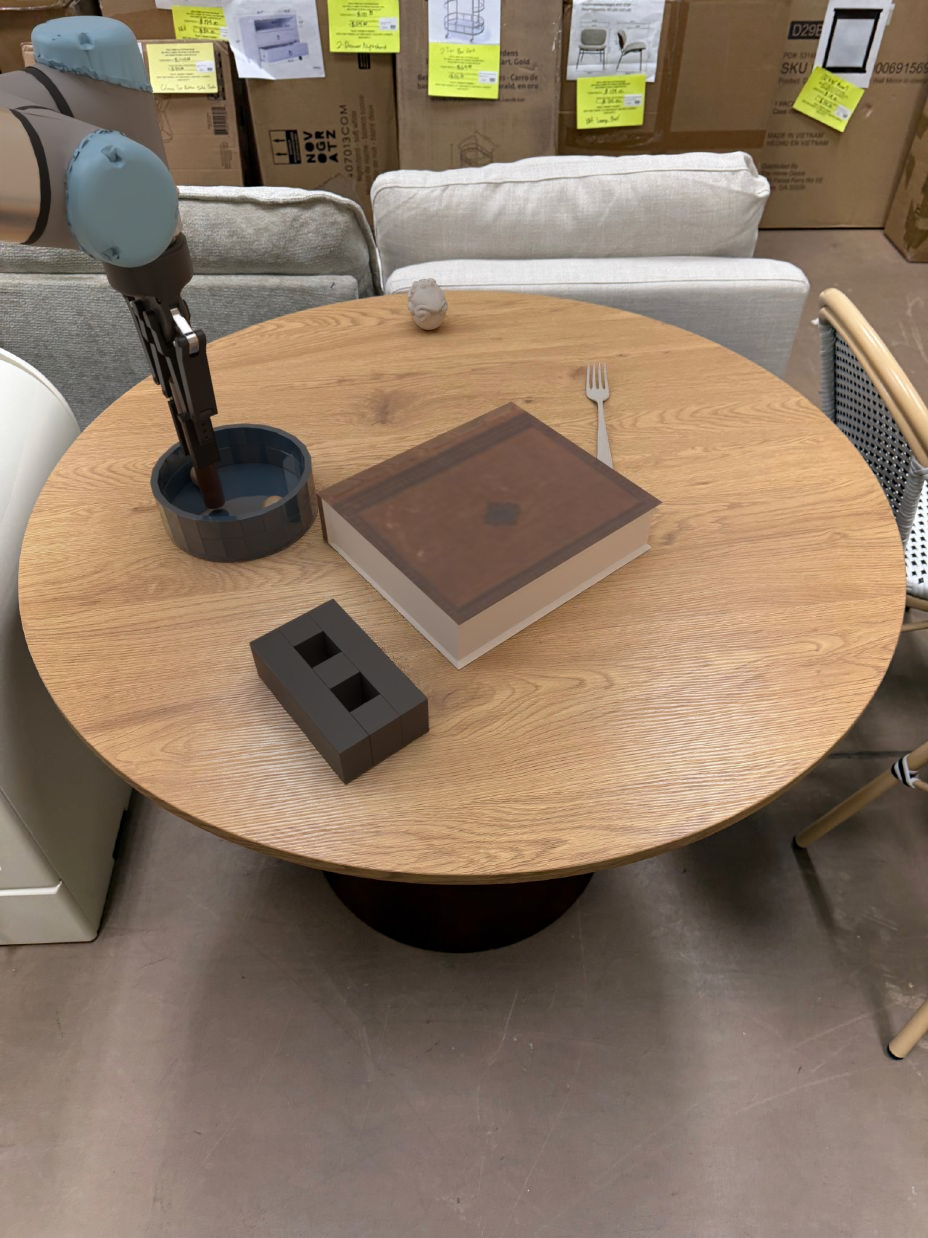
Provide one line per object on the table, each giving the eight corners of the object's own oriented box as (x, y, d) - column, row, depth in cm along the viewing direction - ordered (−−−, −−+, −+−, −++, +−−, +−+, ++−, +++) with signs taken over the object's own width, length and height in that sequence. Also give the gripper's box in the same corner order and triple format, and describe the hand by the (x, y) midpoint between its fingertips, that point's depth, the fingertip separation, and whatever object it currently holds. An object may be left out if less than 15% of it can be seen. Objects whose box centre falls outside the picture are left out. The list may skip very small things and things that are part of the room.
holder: (345, 785, 71) (339, 754, 67) (258, 675, 79) (248, 642, 75) (429, 730, 75) (428, 698, 71) (338, 631, 83) (333, 597, 79)
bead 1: (191, 476, 93) (191, 493, 96) (218, 476, 95) (217, 492, 97) (189, 456, 95) (189, 472, 97) (215, 456, 96) (215, 472, 98)
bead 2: (259, 501, 90) (272, 526, 90) (283, 490, 91) (296, 514, 91) (255, 503, 92) (268, 527, 93) (278, 492, 93) (291, 515, 94)
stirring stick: (210, 512, 92) (174, 387, 80) (200, 501, 93) (164, 377, 82) (229, 503, 93) (197, 379, 81) (219, 493, 94) (186, 369, 83)
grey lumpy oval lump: (436, 312, 127) (435, 268, 122) (456, 332, 123) (456, 287, 118) (400, 320, 125) (398, 276, 120) (419, 341, 121) (418, 296, 116)
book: (323, 538, 92) (315, 492, 87) (508, 445, 104) (511, 401, 99) (458, 669, 79) (458, 625, 75) (651, 547, 91) (663, 502, 87)
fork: (592, 477, 100) (594, 466, 98) (584, 371, 116) (585, 360, 115) (619, 478, 100) (621, 467, 98) (606, 372, 116) (608, 361, 115)
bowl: (208, 585, 87) (195, 544, 82) (139, 502, 96) (124, 460, 92) (346, 518, 94) (341, 477, 90) (271, 447, 103) (262, 406, 99)
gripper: (221, 255, 69) (267, 478, 86) (144, 198, 77) (201, 412, 94) (136, 280, 66) (202, 506, 83) (65, 218, 74) (139, 436, 91)
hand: (201, 456), depth 89 cm, fingers closed on stirring stick, 2 cm apart
